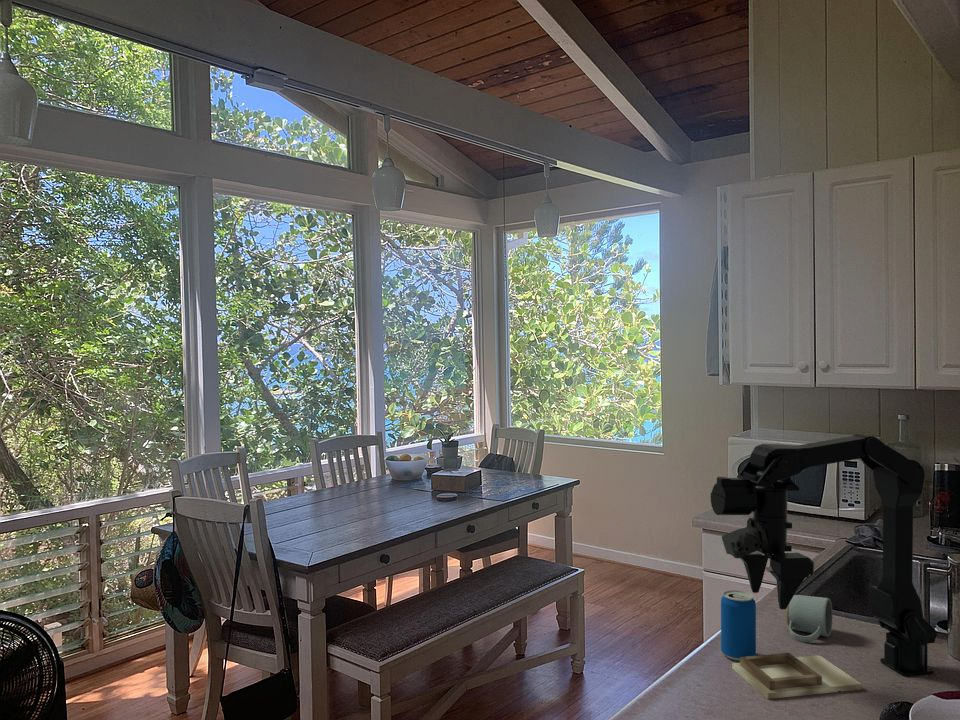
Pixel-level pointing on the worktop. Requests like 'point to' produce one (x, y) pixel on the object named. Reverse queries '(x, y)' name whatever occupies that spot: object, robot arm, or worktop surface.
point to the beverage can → (738, 624)
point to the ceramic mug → (809, 617)
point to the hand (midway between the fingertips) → (768, 600)
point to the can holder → (793, 675)
